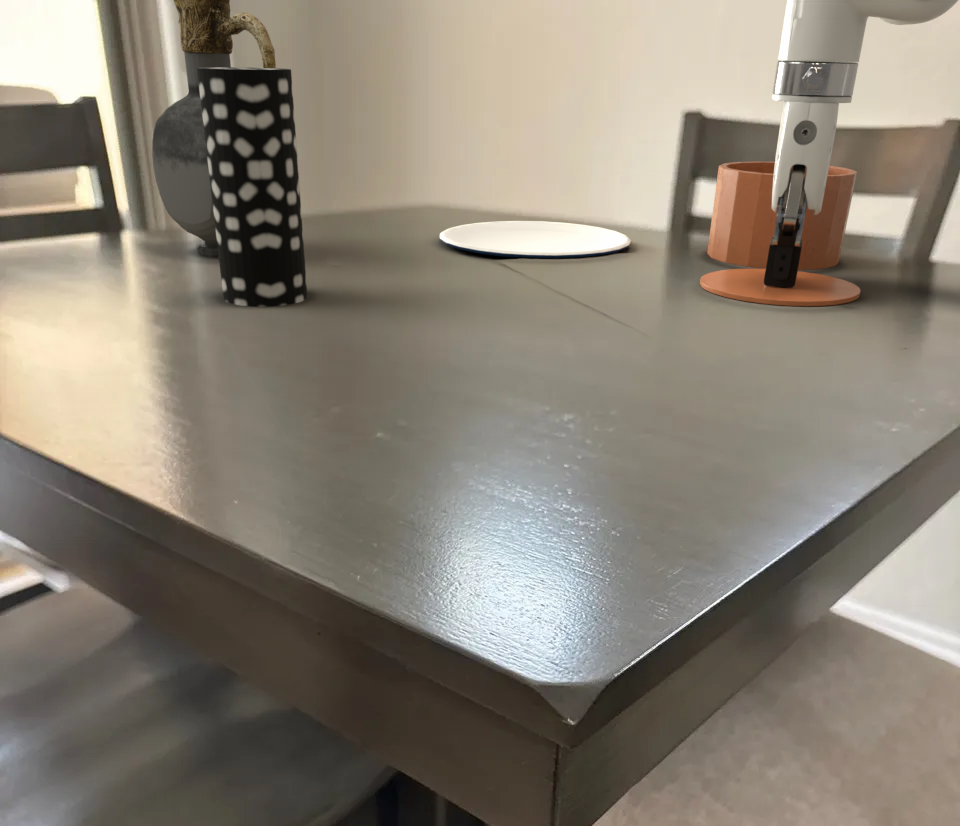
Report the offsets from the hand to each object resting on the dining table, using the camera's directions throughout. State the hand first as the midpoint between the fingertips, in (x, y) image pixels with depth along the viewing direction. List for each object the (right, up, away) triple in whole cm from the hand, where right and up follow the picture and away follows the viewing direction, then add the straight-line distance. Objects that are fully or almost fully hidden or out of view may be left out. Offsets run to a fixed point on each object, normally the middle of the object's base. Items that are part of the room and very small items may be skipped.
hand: (779, 280), depth 104 cm
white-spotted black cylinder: (-54, -4, -6) cm, 54 cm away
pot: (+4, +9, +17) cm, 19 cm away
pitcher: (-61, +8, +14) cm, 63 cm away
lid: (0, -1, 0) cm, 1 cm away
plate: (-25, +13, +23) cm, 37 cm away
